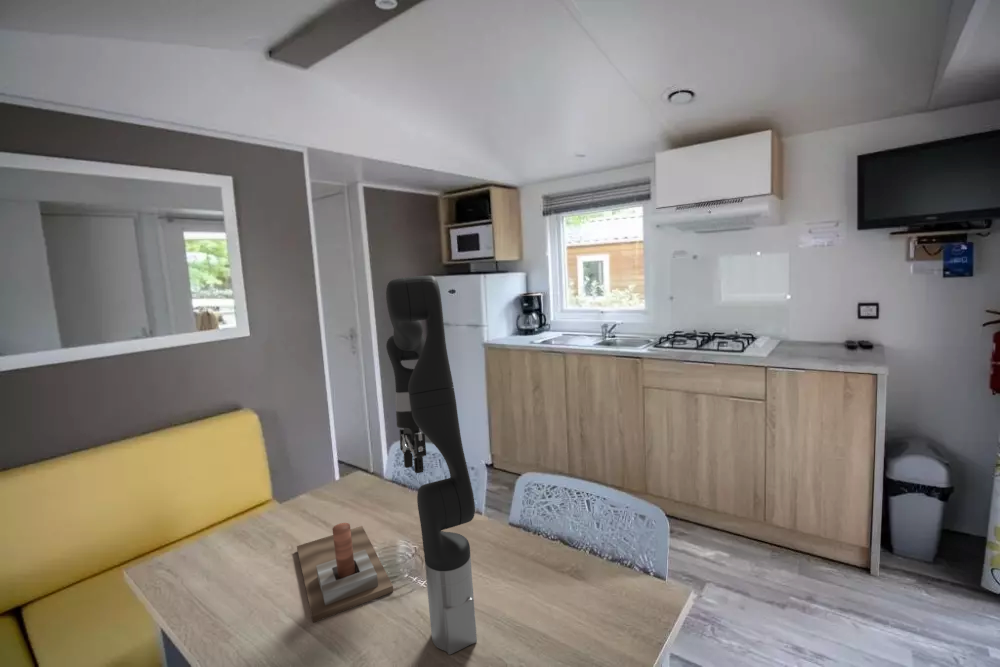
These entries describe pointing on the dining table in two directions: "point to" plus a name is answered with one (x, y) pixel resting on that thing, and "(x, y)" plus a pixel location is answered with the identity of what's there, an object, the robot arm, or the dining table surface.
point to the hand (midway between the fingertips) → (413, 469)
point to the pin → (343, 550)
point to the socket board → (327, 555)
